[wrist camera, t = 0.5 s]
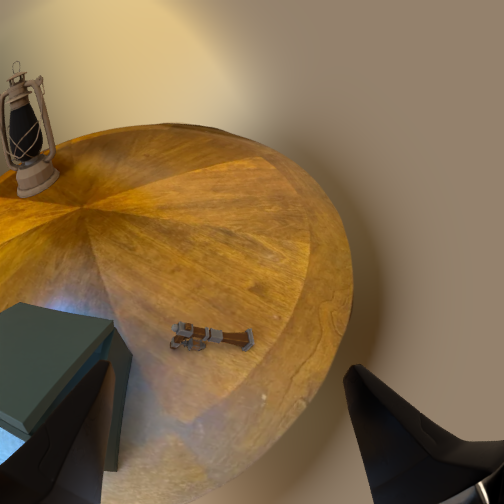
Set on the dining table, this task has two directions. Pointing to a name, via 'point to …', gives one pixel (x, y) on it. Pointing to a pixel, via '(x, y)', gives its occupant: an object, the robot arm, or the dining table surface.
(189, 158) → the dining table surface
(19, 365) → the lid
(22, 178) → the lantern
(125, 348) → the chest
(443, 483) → the robot arm
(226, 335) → the toy rocket launcher
